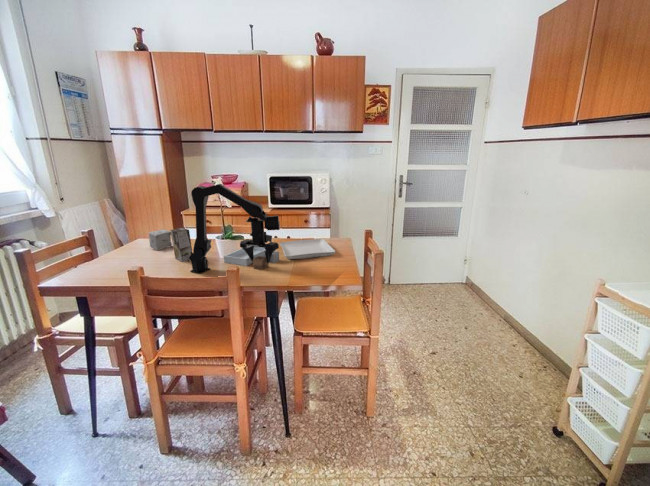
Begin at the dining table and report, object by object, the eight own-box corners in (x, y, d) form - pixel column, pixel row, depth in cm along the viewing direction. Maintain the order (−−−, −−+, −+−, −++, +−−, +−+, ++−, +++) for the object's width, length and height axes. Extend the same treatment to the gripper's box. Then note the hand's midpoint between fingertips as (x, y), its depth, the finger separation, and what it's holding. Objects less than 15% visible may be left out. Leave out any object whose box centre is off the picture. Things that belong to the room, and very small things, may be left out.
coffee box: (194, 259, 159) (189, 229, 155) (181, 262, 155) (176, 232, 150) (186, 255, 165) (182, 227, 161) (174, 258, 161) (169, 229, 156)
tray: (246, 266, 147) (245, 259, 146) (224, 262, 153) (223, 256, 152) (271, 253, 166) (271, 246, 165) (251, 250, 172) (250, 244, 171)
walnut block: (262, 270, 142) (261, 260, 140) (253, 268, 144) (252, 258, 142) (268, 266, 146) (267, 257, 144) (259, 265, 148) (259, 255, 146)
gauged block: (274, 263, 150) (272, 247, 148) (265, 262, 152) (264, 246, 150) (279, 260, 155) (278, 244, 152) (271, 259, 157) (270, 243, 154)
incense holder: (158, 250, 174) (155, 233, 172) (150, 249, 178) (146, 232, 175) (173, 246, 183) (171, 230, 180) (165, 244, 187) (162, 228, 184)
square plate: (285, 263, 151) (285, 255, 150) (279, 247, 177) (278, 241, 176) (336, 257, 158) (336, 250, 157) (323, 243, 184) (322, 237, 182)
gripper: (283, 228, 143) (285, 259, 147) (252, 225, 150) (254, 254, 155) (270, 234, 133) (273, 266, 137) (237, 230, 141) (240, 261, 145)
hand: (260, 262), depth 144 cm, fingers open, 9 cm apart
